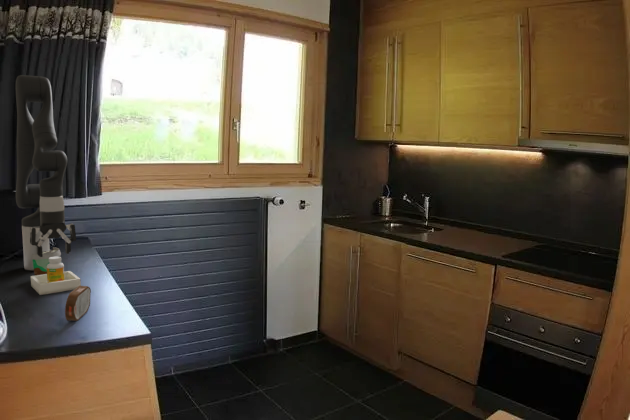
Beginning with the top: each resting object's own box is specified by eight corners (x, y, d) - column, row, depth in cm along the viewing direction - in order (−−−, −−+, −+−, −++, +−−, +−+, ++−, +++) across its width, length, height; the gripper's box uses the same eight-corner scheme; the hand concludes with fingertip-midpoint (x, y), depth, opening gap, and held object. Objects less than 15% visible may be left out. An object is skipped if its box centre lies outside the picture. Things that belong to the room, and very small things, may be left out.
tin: (82, 308, 167) (81, 281, 166) (93, 308, 167) (92, 281, 166) (64, 325, 152) (63, 296, 151) (75, 325, 152) (74, 296, 151)
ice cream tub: (47, 282, 194) (45, 254, 192) (32, 280, 195) (30, 253, 194) (69, 273, 206) (68, 247, 204) (54, 272, 207) (53, 246, 206)
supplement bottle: (47, 287, 184) (46, 259, 183) (47, 283, 189) (46, 256, 188) (64, 286, 186) (63, 258, 185) (64, 282, 191) (63, 255, 190)
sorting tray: (31, 285, 189) (30, 276, 188) (70, 280, 197) (69, 270, 196) (39, 295, 179) (39, 284, 178) (80, 288, 187) (80, 278, 186)
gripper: (71, 206, 191) (72, 250, 193) (26, 208, 182) (28, 255, 185) (77, 209, 185) (78, 254, 188) (31, 212, 176) (34, 260, 179)
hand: (54, 255), depth 186 cm, fingers open, 8 cm apart
